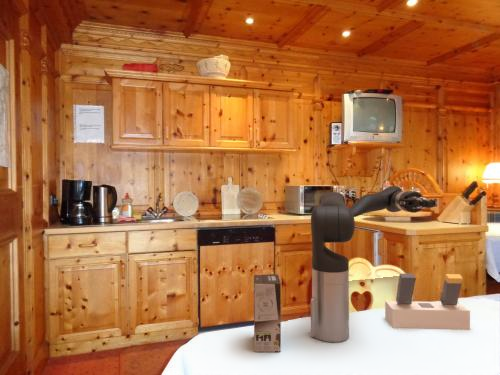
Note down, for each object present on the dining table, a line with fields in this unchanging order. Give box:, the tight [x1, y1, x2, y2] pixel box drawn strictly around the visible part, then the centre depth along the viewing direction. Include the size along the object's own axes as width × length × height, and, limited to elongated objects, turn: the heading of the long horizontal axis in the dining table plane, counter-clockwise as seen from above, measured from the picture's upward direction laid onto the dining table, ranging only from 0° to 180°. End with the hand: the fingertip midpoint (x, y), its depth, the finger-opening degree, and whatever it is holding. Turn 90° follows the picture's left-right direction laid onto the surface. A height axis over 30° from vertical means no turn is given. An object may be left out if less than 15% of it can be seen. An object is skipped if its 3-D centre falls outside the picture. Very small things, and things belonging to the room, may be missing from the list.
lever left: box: [395, 273, 417, 305], centre depth 101 cm, size 4×2×9 cm, turn 86°
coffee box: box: [253, 273, 282, 353], centre depth 91 cm, size 9×6×16 cm
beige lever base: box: [384, 300, 471, 330], centre depth 103 cm, size 20×7×5 cm, turn 85°
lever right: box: [439, 273, 464, 306], centre depth 100 cm, size 4×2×9 cm, turn 86°
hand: (429, 204), depth 117 cm, fingers closed
